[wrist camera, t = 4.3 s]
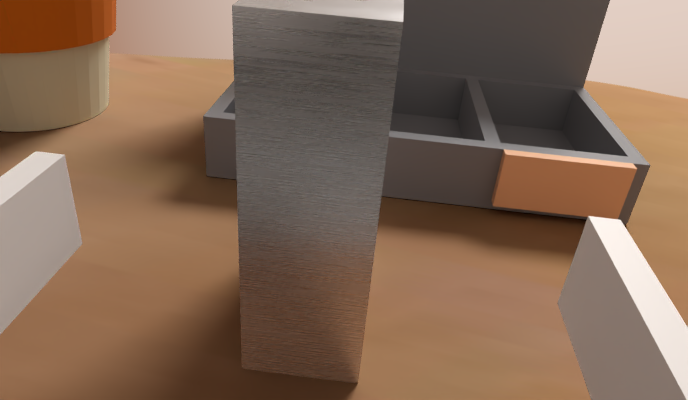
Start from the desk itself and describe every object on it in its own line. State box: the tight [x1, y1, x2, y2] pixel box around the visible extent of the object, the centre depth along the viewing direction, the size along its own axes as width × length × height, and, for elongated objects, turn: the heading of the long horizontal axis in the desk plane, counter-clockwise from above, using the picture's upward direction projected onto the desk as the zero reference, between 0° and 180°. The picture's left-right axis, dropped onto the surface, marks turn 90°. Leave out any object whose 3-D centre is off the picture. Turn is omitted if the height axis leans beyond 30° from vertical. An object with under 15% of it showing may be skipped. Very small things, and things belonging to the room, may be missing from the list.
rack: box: [203, 0, 650, 224], centre depth 32 cm, size 23×14×14 cm, turn 84°
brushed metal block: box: [232, 0, 404, 384], centre depth 19 cm, size 4×8×12 cm, turn 174°
